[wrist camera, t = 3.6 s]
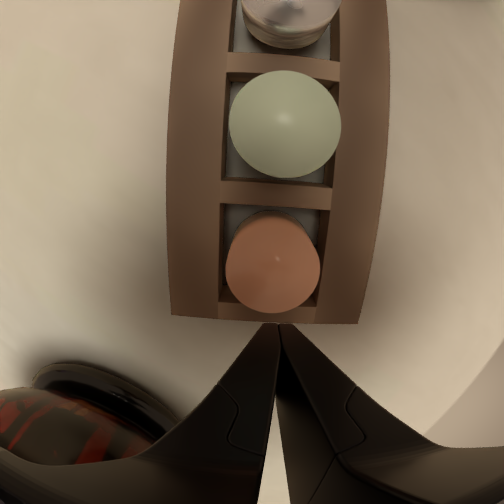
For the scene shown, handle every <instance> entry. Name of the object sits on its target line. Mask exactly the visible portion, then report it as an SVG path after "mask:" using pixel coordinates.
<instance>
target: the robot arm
mask: <svg viewBox="0 0 504 504" xmlns="http://www.w3.org/2000/svg"><path fill="white" fill-rule="evenodd" d="M274 399H276V406H277V413H278V420H279V427H280V434H281V441H282V448H283V455H284V462H285V469H286V476H287V483H288V490H289V497H290V504H504V446H500V447H483V448H450V447H444V446H441V445H438V444H436V443H433V442H432V441H430V440H428V439H427V438H425V437H424V436H422V435H421V434H419V433H418V432H416V431H415V430H414V429H412V428H411V427H409V426H408V425H406V424H405V423H403V422H402V421H401V420H399V419H398V418H396V417H395V416H394V415H392V414H391V413H390V412H388V411H387V410H386V409H384V408H383V407H382V406H380V405H379V404H378V403H377V402H376V401H374V400H373V399H372V398H371V397H370V396H369V395H367V394H366V393H365V392H364V391H363V390H362V389H361V388H360V387H359V386H357V385H356V384H355V383H354V382H353V381H352V380H351V379H350V378H349V377H348V376H347V375H346V374H345V373H344V372H342V371H341V370H340V369H339V368H338V367H337V366H336V365H335V364H334V363H333V362H332V361H331V360H330V359H329V358H328V357H326V356H325V355H324V354H323V353H322V352H321V351H320V350H319V349H318V348H317V347H316V346H315V345H314V344H313V343H312V342H311V341H310V340H309V339H308V338H306V337H305V336H304V335H303V334H302V333H301V332H300V331H299V330H298V329H297V328H296V327H295V326H294V325H293V324H284V323H280V324H278V325H277V324H276V323H263V324H262V326H261V327H260V328H259V330H258V331H257V332H256V334H255V335H254V336H253V338H252V339H251V340H250V341H249V343H248V344H247V345H246V347H245V348H244V349H243V351H242V352H241V353H240V355H239V356H238V357H237V358H236V360H235V361H234V362H233V364H232V365H231V366H230V367H229V369H228V370H227V371H226V373H225V374H224V375H223V376H222V378H221V379H220V380H219V381H218V383H217V384H216V385H215V386H214V388H213V389H212V390H211V391H210V393H209V394H208V395H207V396H206V397H205V398H204V399H203V400H202V402H201V403H200V404H199V405H198V406H197V407H196V408H195V409H194V410H193V411H192V412H190V413H189V414H188V415H187V416H186V417H185V418H184V419H183V420H182V421H180V422H179V423H178V424H177V425H176V426H175V427H173V428H172V429H171V430H170V431H169V432H168V433H166V434H165V435H164V436H163V437H162V438H160V439H159V440H158V441H157V442H156V443H154V444H153V445H152V446H150V447H149V448H148V449H146V450H145V451H143V452H141V453H139V454H137V455H135V456H132V457H129V458H124V459H117V460H111V461H103V462H95V463H86V464H76V465H62V466H48V465H41V464H35V463H32V462H28V461H26V460H23V459H21V458H19V457H17V456H16V455H14V454H12V453H10V452H9V451H7V450H5V449H3V448H2V447H0V500H1V501H3V502H4V503H5V504H257V502H258V497H259V491H260V485H261V479H262V473H263V468H264V462H265V456H266V450H267V444H268V438H269V432H270V426H271V419H272V413H273V406H274Z"/></svg>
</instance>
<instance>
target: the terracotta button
mask: <svg viewBox="0 0 504 504" xmlns="http://www.w3.org/2000/svg"><path fill="white" fill-rule="evenodd" d="M225 270H226V279H227V283H228V286H229V288H230V290H231V291H232V293H233V294H234V296H235V297H236V298H237V299H238V300H239V301H240V302H241V303H242V304H244V305H245V306H247V307H249V308H251V309H253V310H256V311H259V312H264V313H280V312H285V311H288V310H291V309H293V308H295V307H297V306H299V305H300V304H302V303H303V302H304V301H305V300H307V299H308V297H309V296H310V295H311V294H312V292H313V291H314V289H315V287H316V286H317V283H318V280H319V276H320V262H319V257H318V254H317V252H316V250H315V248H314V246H313V244H312V242H311V241H310V239H309V237H308V235H307V233H306V231H305V230H304V228H303V226H302V225H301V224H300V223H299V222H298V221H297V220H296V219H295V218H293V217H292V216H290V215H288V214H286V213H283V212H279V211H263V212H259V213H256V214H254V215H252V216H250V217H248V218H247V219H246V220H244V221H243V222H242V223H241V224H240V226H239V227H238V228H237V230H236V232H235V234H234V237H233V240H232V244H231V247H230V251H229V254H228V258H227V262H226V269H225Z"/></svg>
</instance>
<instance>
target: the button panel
mask: <svg viewBox="0 0 504 504" xmlns="http://www.w3.org/2000/svg"><path fill="white" fill-rule="evenodd" d="M236 6H237V0H180V6H179V13H178V20H177V27H176V35H175V43H174V52H173V61H172V72H171V83H170V96H169V112H168V132H167V164H166V219H167V251H168V272H169V288H170V302H171V314H172V315H179V316H190V317H201V318H213V319H226V320H241V321H258V322H279V323H309V324H358V321H359V317H360V313H361V309H362V304H363V300H364V296H365V291H366V287H367V282H368V278H369V273H370V268H371V263H372V258H373V252H374V247H375V241H376V235H377V229H378V223H379V216H380V209H381V202H382V194H383V186H384V177H385V167H386V156H387V144H388V129H389V106H390V53H389V31H388V17H387V6H386V0H342V1H341V4H340V6H339V8H338V9H337V11H336V13H335V14H334V16H333V18H332V19H331V53H330V60H324V59H317V58H309V57H301V56H292V55H281V54H267V53H244V52H233V41H234V28H235V17H236ZM281 70H283V71H294V72H298V73H302V74H305V75H307V76H309V77H311V78H313V79H315V80H316V81H318V82H319V83H320V84H322V85H323V86H324V87H325V88H326V89H329V90H330V92H329V93H330V94H331V95H332V97H333V99H334V100H335V102H336V104H337V107H338V110H339V113H340V118H341V134H340V139H339V142H338V145H337V147H336V149H335V151H334V153H333V154H332V156H331V157H330V158H329V160H328V161H327V162H326V163H325V172H324V183H312V182H301V181H288V180H275V179H259V178H240V177H225V176H226V153H227V133H228V115H229V98H230V82H250V81H251V80H252V79H254V78H256V77H258V76H260V75H262V74H265V73H268V72H272V71H281ZM224 203H230V204H250V205H267V206H282V207H296V208H309V209H321V213H320V222H319V231H318V239H317V247H316V252H317V254H318V257H319V262H320V276H319V280H318V283H317V286H316V287H315V289H314V291H313V292H312V294H311V295H310V296H309V297H308V299H307V300H305V301H304V302H303V303H302V304H300V305H299V306H297V307H295V308H293V309H291V310H288V311H285V312H280V313H264V312H259V311H256V310H253V309H251V308H249V307H247V306H245V305H244V304H242V303H241V302H240V301H239V300H238V299H237V298H236V297H235V296H234V294H233V293H232V291H231V290H230V288H229V286H228V285H222V281H223V234H224Z"/></svg>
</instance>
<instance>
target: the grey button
mask: <svg viewBox="0 0 504 504" xmlns="http://www.w3.org/2000/svg"><path fill="white" fill-rule="evenodd" d="M341 1H342V0H241V4H242V12H243V19H244V22H245V25H246V27H247V29H248V30H249V32H250V33H251V34H252V35H253V36H254V37H255V38H257V39H258V40H260V41H261V42H263V43H265V44H267V45H270V46H273V47H277V48H282V49H296V48H302V47H305V46H308V45H310V44H312V43H314V42H315V41H317V40H318V39H319V38H320V37H321V36H322V34H323V33H324V31H325V30H326V28H327V26H328V24H329V23H330V21H331V19H332V18H333V16H334V14H335V13H336V11H337V9H338V8H339V6H340V4H341Z"/></svg>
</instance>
